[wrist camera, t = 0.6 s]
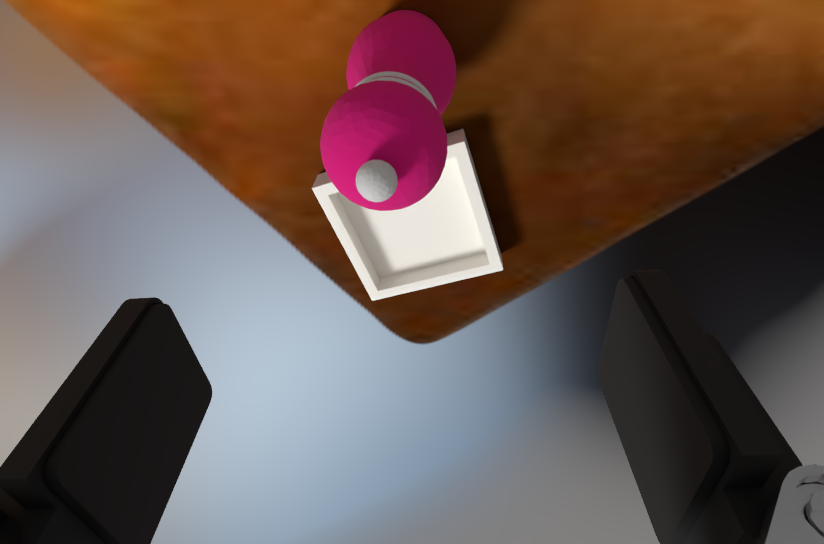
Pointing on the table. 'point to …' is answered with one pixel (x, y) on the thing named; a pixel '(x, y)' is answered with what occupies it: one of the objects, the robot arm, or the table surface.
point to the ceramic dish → (418, 231)
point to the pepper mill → (391, 113)
